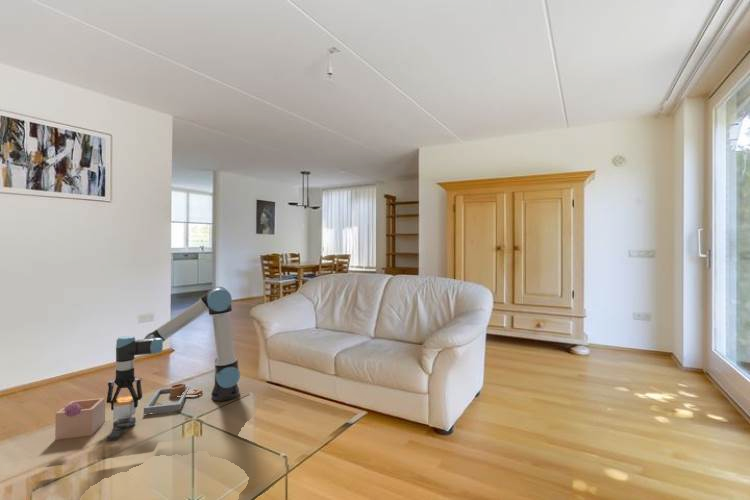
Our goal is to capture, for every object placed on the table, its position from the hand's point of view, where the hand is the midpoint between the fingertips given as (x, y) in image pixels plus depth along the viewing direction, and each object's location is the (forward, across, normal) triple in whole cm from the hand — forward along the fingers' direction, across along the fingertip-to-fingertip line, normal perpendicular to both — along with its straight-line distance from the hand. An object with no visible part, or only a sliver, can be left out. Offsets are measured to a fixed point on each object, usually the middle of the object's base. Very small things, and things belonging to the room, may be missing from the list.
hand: (124, 415), depth 173 cm
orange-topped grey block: (0, 0, 0) cm, 0 cm away
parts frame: (+5, -14, -23) cm, 27 cm away
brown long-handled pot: (+5, -22, -29) cm, 37 cm away
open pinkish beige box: (+5, +18, -1) cm, 19 cm away
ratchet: (+5, 0, 0) cm, 5 cm away
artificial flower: (0, +19, -6) cm, 20 cm away
